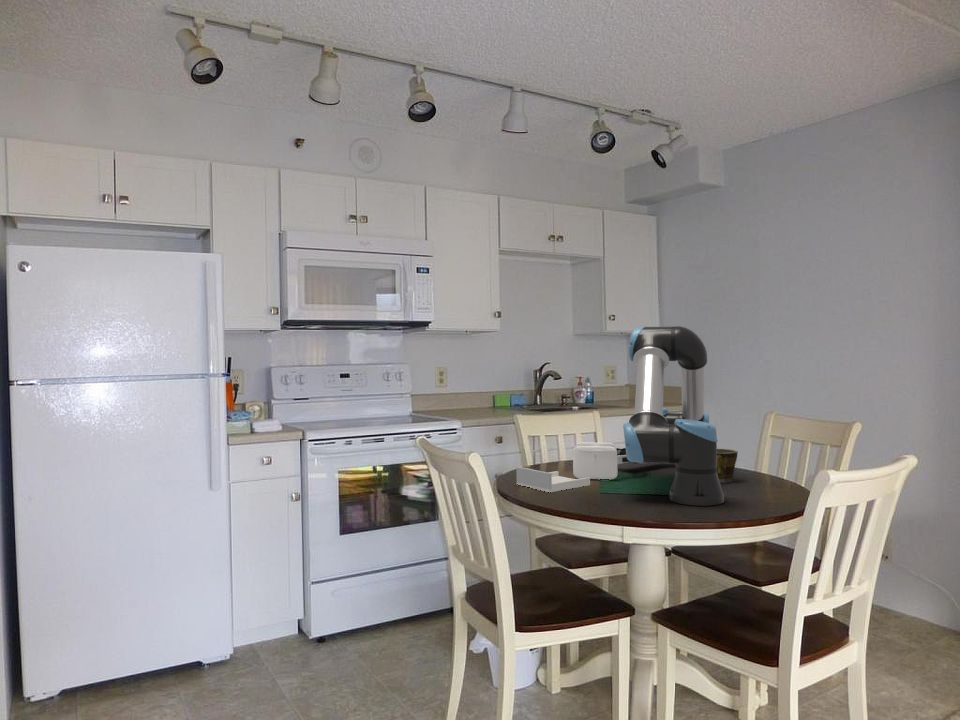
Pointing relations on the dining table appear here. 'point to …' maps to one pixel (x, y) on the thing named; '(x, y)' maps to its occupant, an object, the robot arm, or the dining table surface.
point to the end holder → (547, 480)
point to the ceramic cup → (726, 464)
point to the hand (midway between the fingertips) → (600, 458)
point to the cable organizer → (595, 460)
